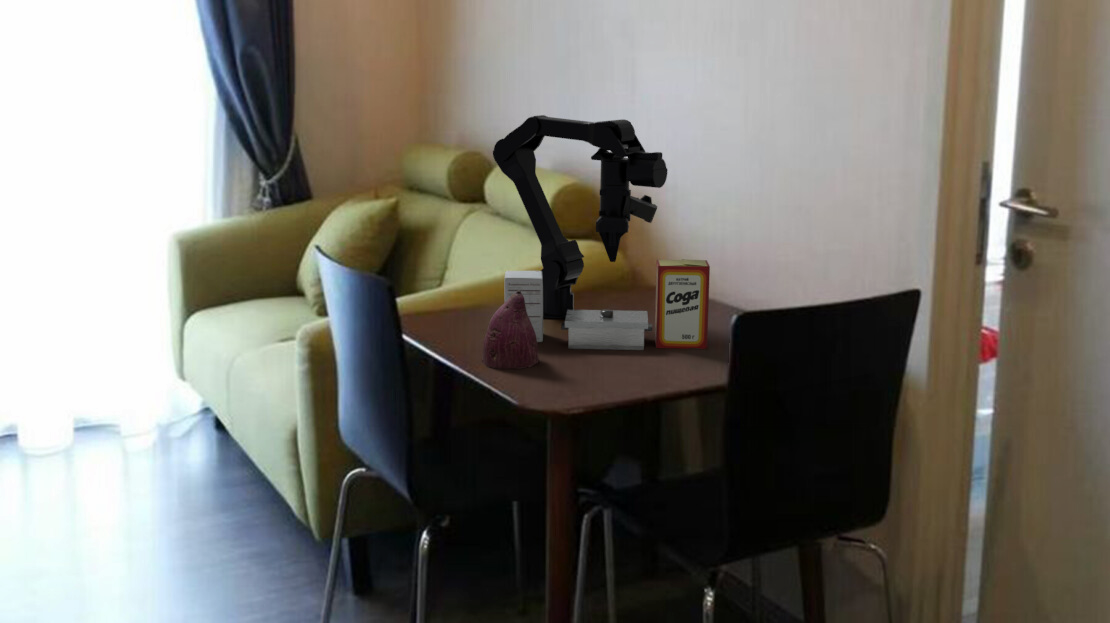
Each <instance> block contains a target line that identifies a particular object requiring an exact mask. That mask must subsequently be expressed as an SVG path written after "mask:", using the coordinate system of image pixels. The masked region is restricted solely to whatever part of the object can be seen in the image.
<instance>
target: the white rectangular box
mask: <svg viewBox="0 0 1110 623" xmlns="http://www.w3.org/2000/svg"><path fill="white" fill-rule="evenodd" d="M560 324H561V325H560V330H562V331H568V347H567V348H568V349H569V350H570V349H573V350H614V351H615V350H622V351H623V350H624V351H627V350H628V351H629V350H630V351H644V348H645V332H653V323H648V329H617V328H565V321H562V322H561V323H560Z"/></svg>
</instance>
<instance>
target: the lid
mask: <svg viewBox="0 0 1110 623" xmlns="http://www.w3.org/2000/svg"><path fill="white" fill-rule="evenodd" d="M648 316H649V315H648V310H620V309H619V310H613V309H574V310H567V314H566V318H564V322H565V328H617V329H648V324H649V317H648Z"/></svg>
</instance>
